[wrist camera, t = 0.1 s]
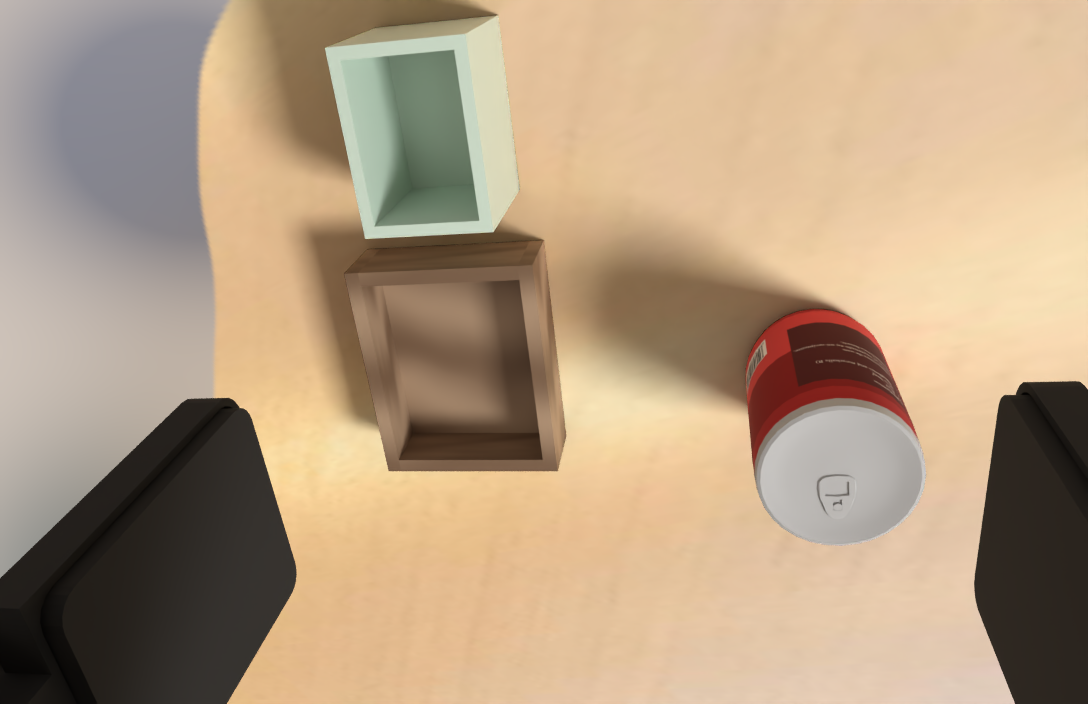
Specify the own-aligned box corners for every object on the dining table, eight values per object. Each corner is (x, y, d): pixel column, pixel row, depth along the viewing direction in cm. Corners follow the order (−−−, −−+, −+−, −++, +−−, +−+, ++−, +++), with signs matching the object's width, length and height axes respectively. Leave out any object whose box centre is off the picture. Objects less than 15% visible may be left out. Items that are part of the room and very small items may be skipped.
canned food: (769, 441, 52) (785, 563, 43) (724, 330, 50) (730, 433, 40) (900, 404, 50) (948, 525, 40) (859, 284, 47) (901, 383, 37)
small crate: (375, 27, 45) (324, 47, 39) (498, 15, 44) (465, 34, 37) (407, 196, 49) (365, 238, 43) (519, 189, 48) (493, 232, 41)
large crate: (367, 249, 51) (344, 273, 47) (543, 240, 49) (532, 265, 45) (406, 437, 56) (388, 471, 53) (566, 436, 55) (557, 471, 51)
